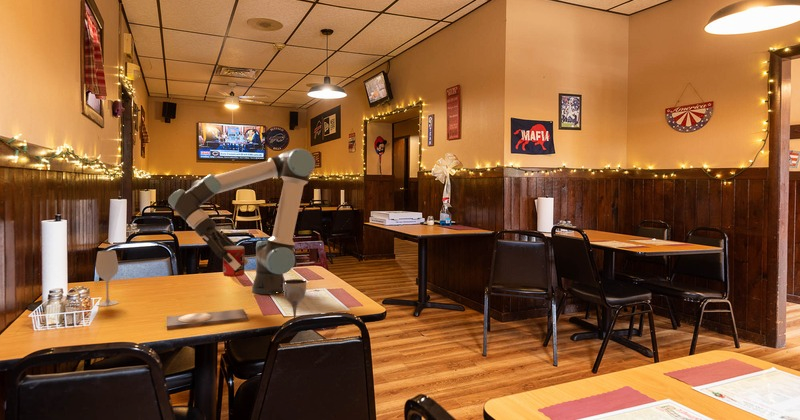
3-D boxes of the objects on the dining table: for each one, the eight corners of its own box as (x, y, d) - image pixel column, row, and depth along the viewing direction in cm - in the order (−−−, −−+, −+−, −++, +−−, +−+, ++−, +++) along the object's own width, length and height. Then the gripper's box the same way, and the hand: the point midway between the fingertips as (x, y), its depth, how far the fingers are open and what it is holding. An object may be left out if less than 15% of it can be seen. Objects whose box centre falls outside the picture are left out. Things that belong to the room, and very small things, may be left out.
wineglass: (123, 302, 190) (122, 251, 189) (104, 307, 184) (103, 253, 182) (110, 300, 194) (109, 249, 192) (91, 304, 187) (90, 251, 186)
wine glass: (310, 322, 168) (310, 280, 167) (298, 328, 160) (298, 284, 160) (290, 319, 171) (291, 278, 170) (278, 325, 163) (278, 282, 162)
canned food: (237, 277, 180) (237, 248, 179) (218, 276, 181) (218, 247, 181) (248, 273, 187) (248, 246, 187) (229, 272, 189) (229, 245, 188)
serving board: (243, 312, 179) (243, 308, 179) (248, 320, 169) (248, 316, 169) (166, 320, 168) (166, 315, 168) (166, 329, 157) (166, 325, 157)
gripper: (207, 227, 194) (246, 268, 194) (181, 232, 174) (224, 277, 174) (220, 215, 194) (258, 255, 194) (195, 218, 173) (238, 263, 173)
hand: (242, 266), depth 184 cm, fingers closed on canned food, 8 cm apart
